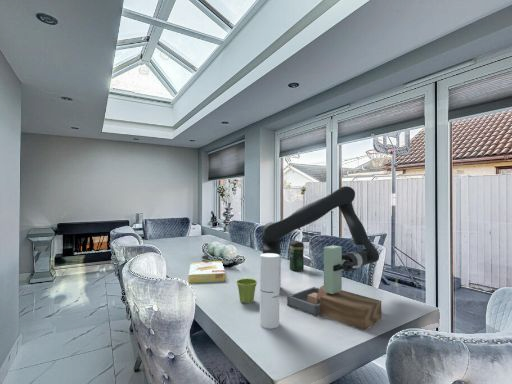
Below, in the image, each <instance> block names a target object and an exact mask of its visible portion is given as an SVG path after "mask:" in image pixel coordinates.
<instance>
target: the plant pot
mask: <svg viewBox="0 0 512 384" xmlns="http://www.w3.org/2000/svg"><path fill="white" fill-rule="evenodd" d="M235 283H236V284H237V290H238V295H239V302H240V303H242V304H243V303H244V304H251V303H253V302H254V300H255V292H256V287H257V284H258V280H256V279H253V278H241V279H237V280H236V281H235Z"/></svg>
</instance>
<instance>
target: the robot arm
mask: <svg viewBox="0 0 512 384" xmlns="http://www.w3.org/2000/svg"><path fill="white" fill-rule="evenodd" d="M355 198H356V192H355V190H354V188H353V187H351V186H348V185H347V186H342V187H339V188H338V189H336V190H334V191H333V192H331V193H329V194H327V195H326V196H324V197H322V198H320V199H317V200H315V201H313V202H310V203H307V204H306V205H304V206H302V207H300V208H298V209H296V210H295V211H294V212H292V213H291V214H289V216H287V217H285V218H283V219H281V220H280V219H279V220H278V221H275V222H272V221H270V222H267V223H265V224H264V225H263V228H262V232H261V233H262V242H261V243H262V245H261V246H262V254H265V253H274V254H279V255H280V288H281V286H282V285H281V279H282V278H281V277H282V276H281V275H282V274H281V271H282V269H281V268H282V266H281V263H282V260H281V259H282V257H281V255H282V252H281V250H282V249H281V239H282V238H283V237H286V235H288V234H290V233H291V232H293V231H296V230H298V229H301V228H302V227H305V226H307V225H309V224H312V223H314V222H316V221H318V220H319V219H321V218H323V217H324V216H325V215H327V214H328V213H330V212H331V211H332V210H334V209H336V208H339V210H340V212H341V214H342V216H343V218H344V220H345V222H346V224H347V227H348V229H349V233H350V235H351V238H352V241H353V243H354V245H355V246H363V247H364V249H361V250H356V251H351V252H347V253H343V254H342V262H341V263H340V264H338V265H334V266H333V271H338V270H340V271H343V272H352V271H356V270H357V269H359V268H360V267H364V266H366V265H369V264H374V263H375V262H378V261H379V259H380V253H379V252H378V250H377V248H376V247H375V246H374V244H373V243H372V242H371V240H370V238H369V237H368V234H367V232H366V230H365V227H364V225H363V223H362V221H361V220H360V219H359V217H358V216H357V214H356V211H355V209H354V205H353V201H354V199H355ZM322 268H323V270H324V263H323V264H322Z"/></svg>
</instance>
